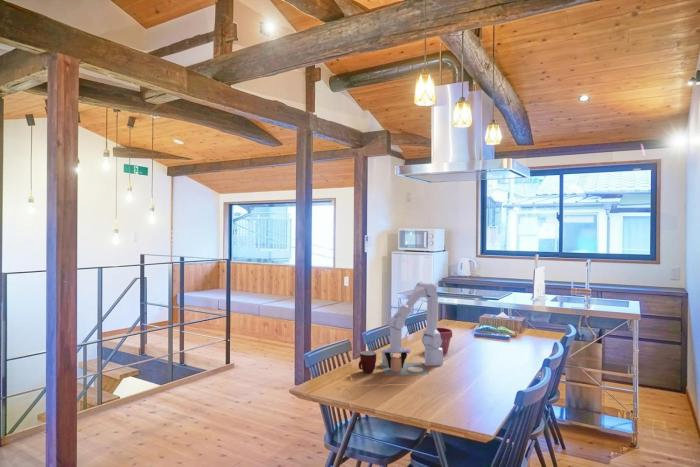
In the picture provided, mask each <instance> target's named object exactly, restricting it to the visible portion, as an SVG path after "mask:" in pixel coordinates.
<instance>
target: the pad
mask: <svg viewBox="0 0 700 467" xmlns="http://www.w3.org/2000/svg"><path fill="white" fill-rule="evenodd" d="M407 370H408V371H410V372H422V371H423V369H422V368H420V367H409V368H407Z"/></svg>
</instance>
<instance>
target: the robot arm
mask: <svg viewBox="0 0 700 467" xmlns="http://www.w3.org/2000/svg"><path fill="white" fill-rule="evenodd" d="M437 290H438V288H437V286H436V285H435V284H434V283H431V282H430V283H429V282H423V281H419V282H417V283H416V285H415V286H414V288H413V292H412V293H411V295H410V296H409V298H408V299H407V301H406V303H405V304H402V305H400V306H399V308H398V310H397V311H396V313H394V315H393V316H391V317H390V318H389V319H388V321H387V325H388V327H389V336H390V338H389V341H390V342H389V346H390V347H389V348H381V355H382V354H384V353H385V355H386V358H387V361H388V365H389V368H391V364H390V360H391V356H390V353H393V354H400V357H401V358H402V368H403V364H404V363H405V361H406V359H407V357H408V354H411V348H402V337H403V336H402V335H403V334H402V331H403V330H402V329H403V328H404V327H405V322H406V319H407V318H408V317H409V316H410V315H411V312H412V308H413V307H414V305H415V304H416V303H417V302H418V301H419V300H420V298H425V299H426V303H427V304H426V326H425V327H426V328H425V330H423V333H422V336H421V343H422V345H423V347H424V360H423V361H422V363H423V364H424V365H425V366H444V353H443V349H442V348H441V347H440V346H441V343H442V341H441V337H440V333H439V332H438V331H437V328H438V307H439V306H438V305H439V304H438V302H439V301H438V300H439V296H438V291H437Z"/></svg>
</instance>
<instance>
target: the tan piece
mask: <svg viewBox="0 0 700 467" xmlns="http://www.w3.org/2000/svg"><path fill="white" fill-rule="evenodd" d="M390 364H391V368H390V371H393V372H400V371H402V358H401V355H393V356H391V360H390Z"/></svg>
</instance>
